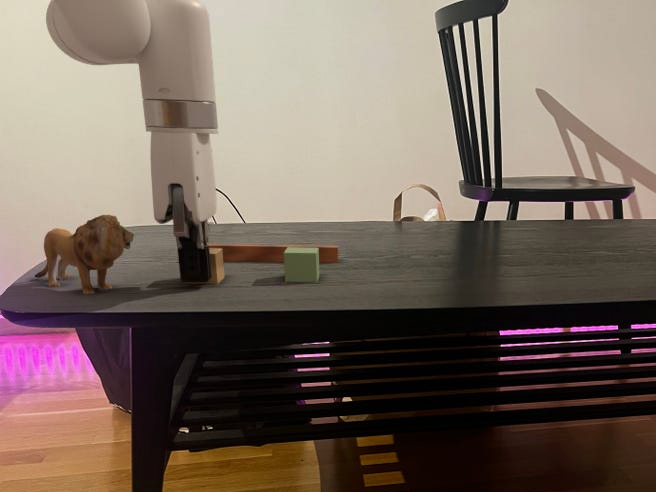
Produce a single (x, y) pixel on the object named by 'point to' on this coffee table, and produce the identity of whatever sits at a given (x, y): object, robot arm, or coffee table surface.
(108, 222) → the lion figurine
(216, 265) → the maple block
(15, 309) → the coffee table surface
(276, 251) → the rail
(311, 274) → the sage block
